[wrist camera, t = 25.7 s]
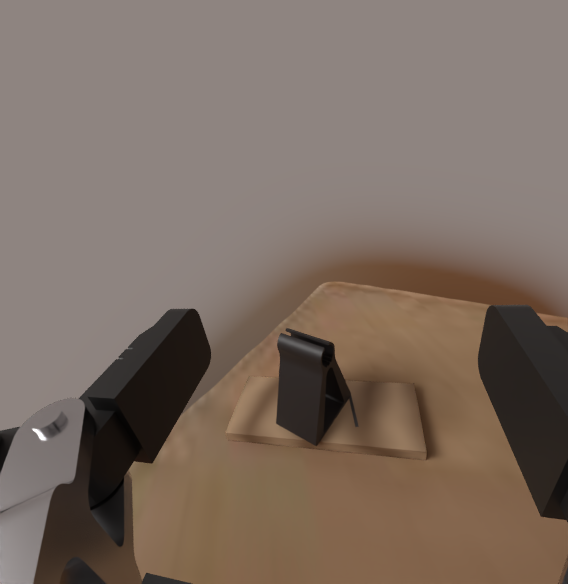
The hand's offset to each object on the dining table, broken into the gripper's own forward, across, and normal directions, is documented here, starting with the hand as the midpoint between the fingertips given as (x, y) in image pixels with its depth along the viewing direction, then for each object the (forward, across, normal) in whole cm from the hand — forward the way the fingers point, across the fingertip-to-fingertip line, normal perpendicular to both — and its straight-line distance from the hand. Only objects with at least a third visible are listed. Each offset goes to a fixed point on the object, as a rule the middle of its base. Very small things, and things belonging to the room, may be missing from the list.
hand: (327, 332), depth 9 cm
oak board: (+21, +5, +30) cm, 37 cm away
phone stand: (+21, +6, +29) cm, 36 cm away
